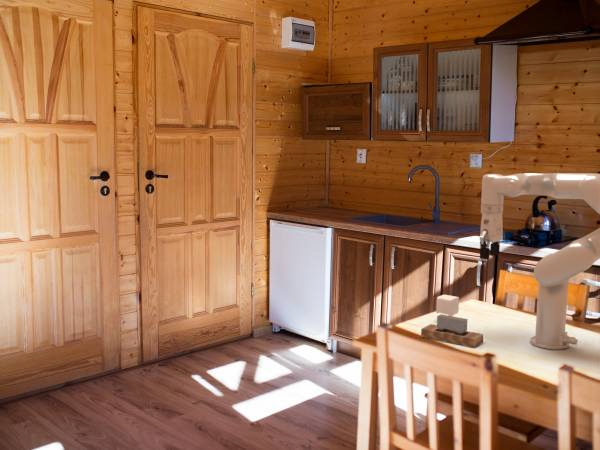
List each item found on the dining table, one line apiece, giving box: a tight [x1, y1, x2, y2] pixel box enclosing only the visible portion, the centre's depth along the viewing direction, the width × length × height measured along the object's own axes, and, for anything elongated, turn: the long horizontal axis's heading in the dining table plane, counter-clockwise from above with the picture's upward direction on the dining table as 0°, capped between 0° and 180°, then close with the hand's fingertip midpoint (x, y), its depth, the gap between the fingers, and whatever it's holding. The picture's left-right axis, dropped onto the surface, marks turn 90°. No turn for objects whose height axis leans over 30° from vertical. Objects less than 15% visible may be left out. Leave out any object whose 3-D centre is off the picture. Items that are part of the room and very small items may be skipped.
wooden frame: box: [420, 323, 484, 349], centre depth 243 cm, size 20×8×3 cm, turn 54°
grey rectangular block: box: [436, 313, 469, 336], centre depth 242 cm, size 10×3×8 cm, turn 54°
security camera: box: [435, 294, 460, 317], centre depth 263 cm, size 6×7×10 cm
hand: (489, 256), depth 246 cm, fingers open, 9 cm apart
